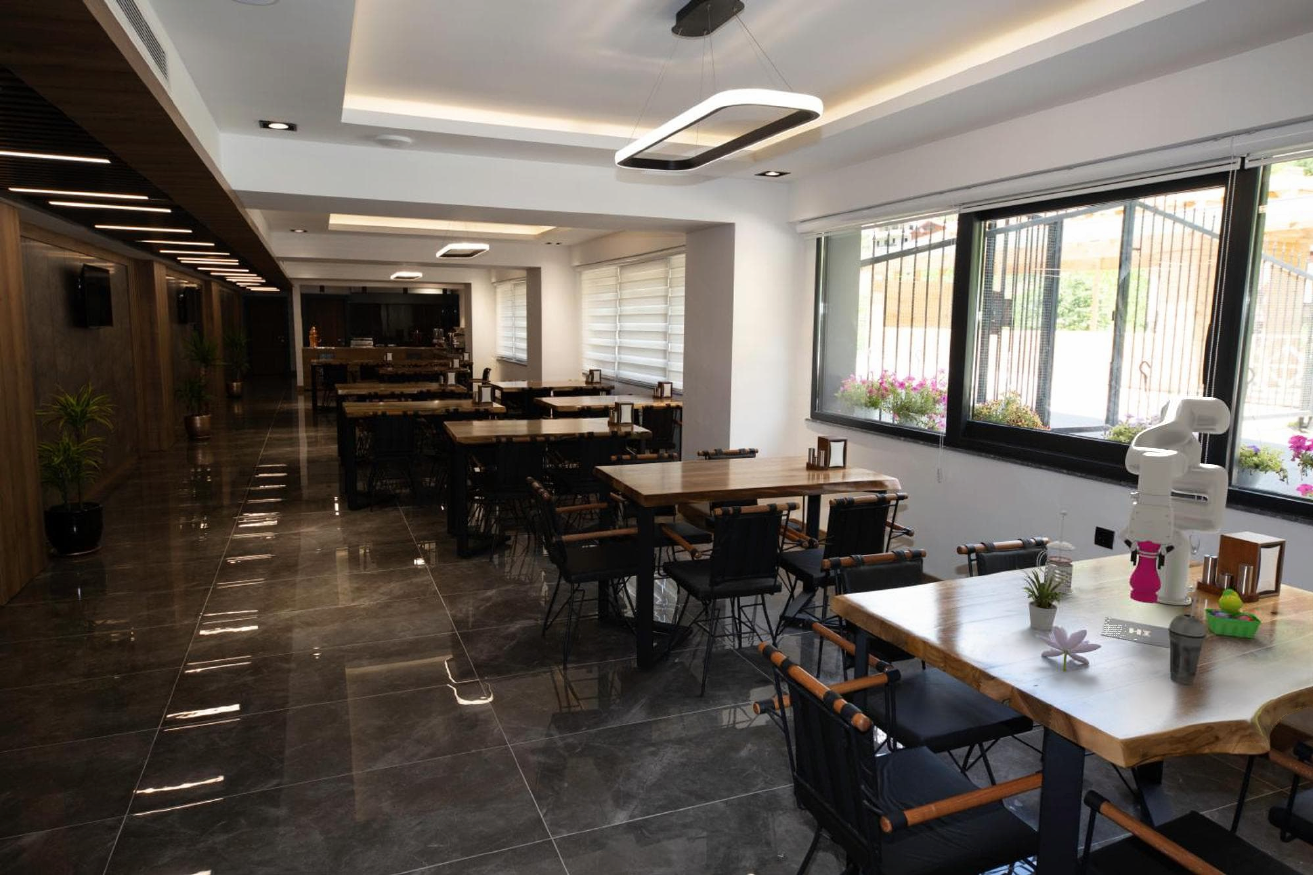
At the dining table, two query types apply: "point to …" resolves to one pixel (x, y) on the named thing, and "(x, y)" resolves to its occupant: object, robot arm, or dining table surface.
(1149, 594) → the pepper mill
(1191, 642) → the beverage cup
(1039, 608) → the house plant
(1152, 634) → the tile
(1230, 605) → the fruit basket
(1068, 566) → the french press
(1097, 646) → the water lily
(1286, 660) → the dining table surface
